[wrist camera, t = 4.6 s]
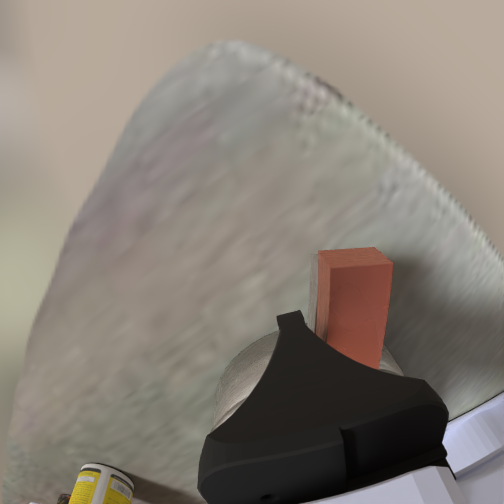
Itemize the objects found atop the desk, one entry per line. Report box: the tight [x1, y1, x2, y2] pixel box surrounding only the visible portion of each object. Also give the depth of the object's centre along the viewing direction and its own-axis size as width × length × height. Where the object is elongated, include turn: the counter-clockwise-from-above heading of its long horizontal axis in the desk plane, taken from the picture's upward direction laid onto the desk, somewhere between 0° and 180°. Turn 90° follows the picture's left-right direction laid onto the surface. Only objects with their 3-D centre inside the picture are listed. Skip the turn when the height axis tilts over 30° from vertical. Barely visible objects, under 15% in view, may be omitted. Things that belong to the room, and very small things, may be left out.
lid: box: [316, 247, 394, 370], centre depth 13 cm, size 18×12×2 cm
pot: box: [210, 254, 405, 433], centre depth 17 cm, size 20×13×5 cm, turn 1°
